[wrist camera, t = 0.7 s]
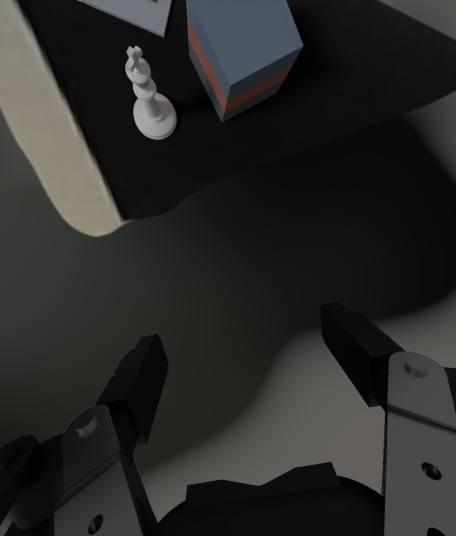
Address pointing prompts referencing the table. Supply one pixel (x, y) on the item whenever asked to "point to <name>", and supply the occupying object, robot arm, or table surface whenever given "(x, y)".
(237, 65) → the brick tower
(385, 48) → the table surface
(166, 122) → the chess piece
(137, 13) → the picture card
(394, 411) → the robot arm
